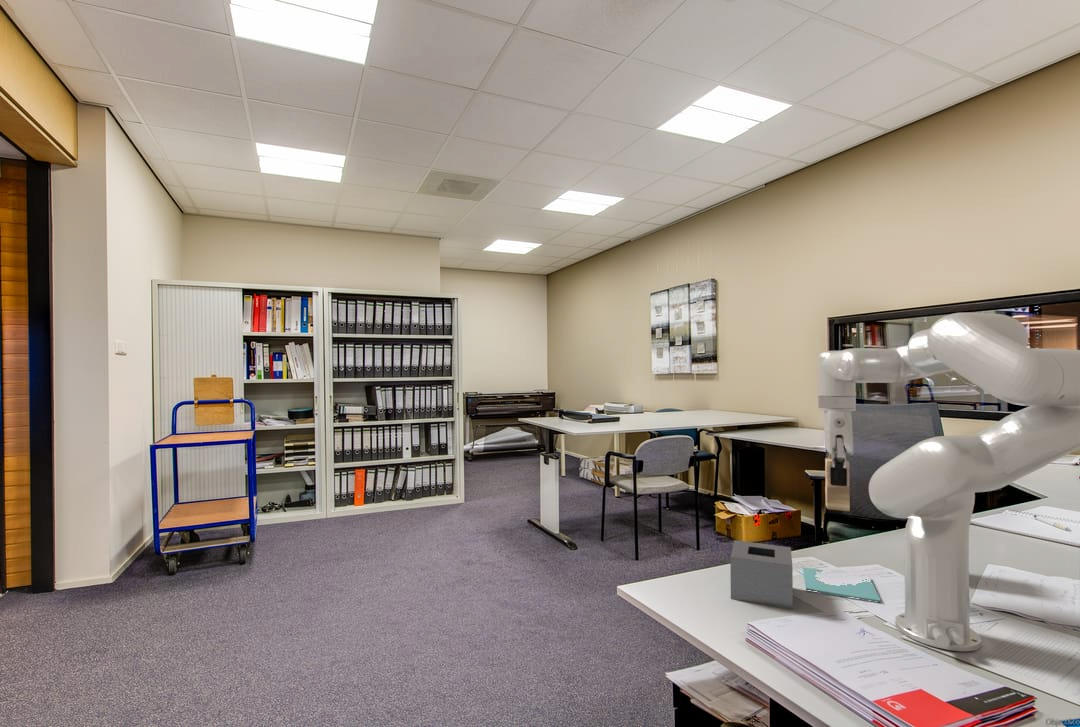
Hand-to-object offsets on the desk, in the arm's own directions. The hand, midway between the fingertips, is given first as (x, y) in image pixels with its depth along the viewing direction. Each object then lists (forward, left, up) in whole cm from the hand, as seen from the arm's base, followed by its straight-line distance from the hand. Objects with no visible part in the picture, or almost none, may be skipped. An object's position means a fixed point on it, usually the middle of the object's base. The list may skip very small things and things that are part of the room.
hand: (837, 482), depth 118 cm
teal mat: (0, 0, -23) cm, 23 cm away
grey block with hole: (-12, +16, -23) cm, 31 cm away
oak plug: (0, 0, -6) cm, 6 cm away
